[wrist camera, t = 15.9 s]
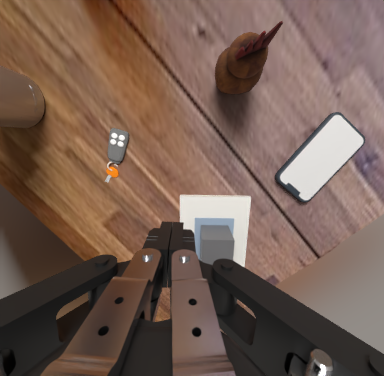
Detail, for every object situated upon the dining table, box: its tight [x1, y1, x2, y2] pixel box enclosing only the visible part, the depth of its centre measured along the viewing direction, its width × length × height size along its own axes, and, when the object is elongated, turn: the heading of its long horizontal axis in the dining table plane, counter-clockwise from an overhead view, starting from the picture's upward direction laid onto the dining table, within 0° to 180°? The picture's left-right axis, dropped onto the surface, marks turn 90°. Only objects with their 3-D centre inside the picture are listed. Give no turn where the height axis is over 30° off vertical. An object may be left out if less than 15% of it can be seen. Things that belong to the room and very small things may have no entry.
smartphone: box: [275, 112, 365, 202], centre depth 36 cm, size 9×2×16 cm
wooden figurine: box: [215, 21, 283, 94], centre depth 25 cm, size 7×6×15 cm
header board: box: [180, 195, 251, 267], centre depth 38 cm, size 14×20×4 cm
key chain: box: [105, 128, 129, 182], centre depth 36 cm, size 13×4×2 cm, turn 164°
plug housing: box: [200, 225, 235, 265], centre depth 36 cm, size 6×8×6 cm
